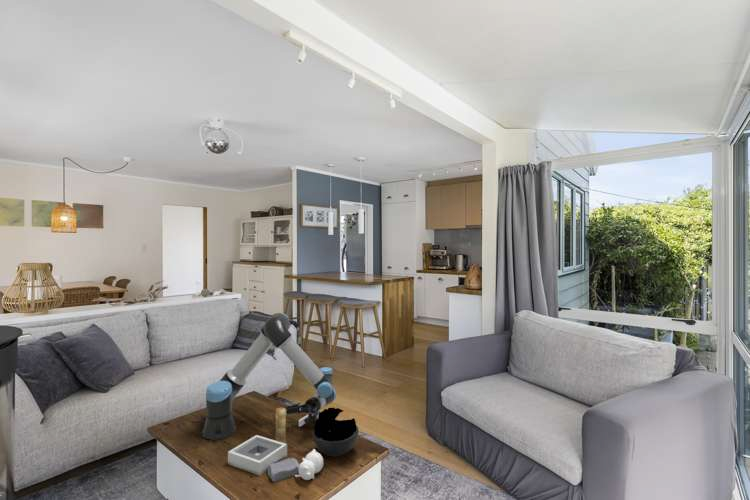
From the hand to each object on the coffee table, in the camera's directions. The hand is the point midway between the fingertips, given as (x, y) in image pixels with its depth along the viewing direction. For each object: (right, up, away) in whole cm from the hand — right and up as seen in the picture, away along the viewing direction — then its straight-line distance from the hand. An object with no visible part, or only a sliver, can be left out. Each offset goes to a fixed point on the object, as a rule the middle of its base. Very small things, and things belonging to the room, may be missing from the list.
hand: (287, 420), depth 173 cm
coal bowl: (+24, -9, -11) cm, 28 cm away
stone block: (+4, -10, -25) cm, 27 cm away
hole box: (-9, -9, -16) cm, 20 cm away
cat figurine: (+15, -9, -27) cm, 32 cm away
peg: (-2, -9, -3) cm, 10 cm away
